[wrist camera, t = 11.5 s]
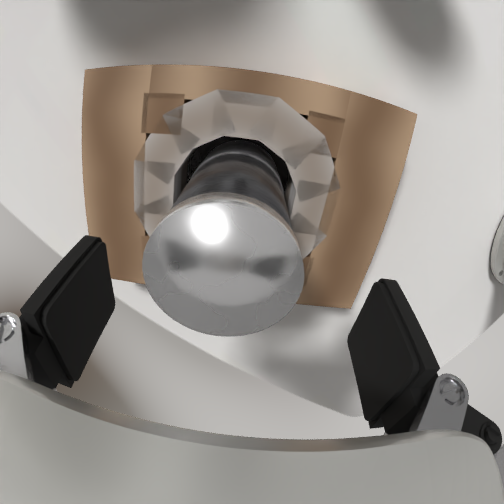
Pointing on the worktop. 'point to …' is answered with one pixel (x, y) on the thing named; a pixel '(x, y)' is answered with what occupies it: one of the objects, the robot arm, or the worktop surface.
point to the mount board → (250, 127)
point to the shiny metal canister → (226, 247)
